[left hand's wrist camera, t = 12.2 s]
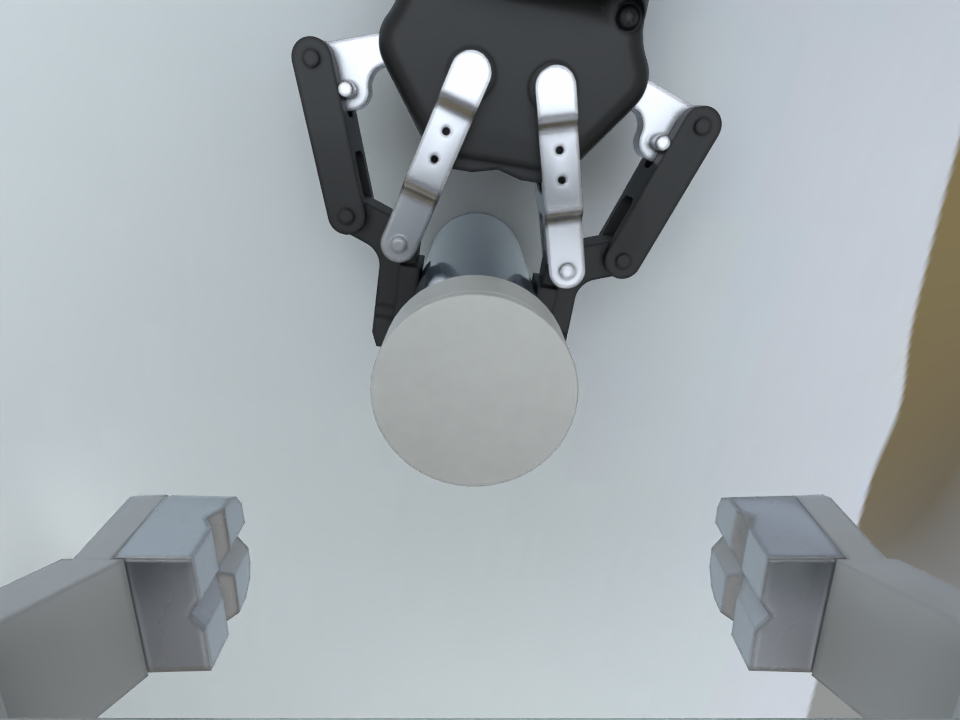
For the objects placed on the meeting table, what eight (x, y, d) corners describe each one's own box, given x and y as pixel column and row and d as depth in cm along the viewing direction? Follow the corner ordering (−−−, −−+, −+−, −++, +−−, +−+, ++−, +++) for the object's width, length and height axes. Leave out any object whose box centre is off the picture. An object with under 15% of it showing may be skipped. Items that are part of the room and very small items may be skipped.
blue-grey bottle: (538, 270, 30) (594, 409, 16) (464, 320, 31) (453, 493, 17) (487, 194, 29) (498, 269, 15) (411, 247, 30) (351, 367, 16)
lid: (602, 387, 18) (617, 420, 16) (452, 478, 18) (449, 520, 17) (500, 236, 16) (503, 251, 14) (344, 342, 17) (328, 370, 15)
